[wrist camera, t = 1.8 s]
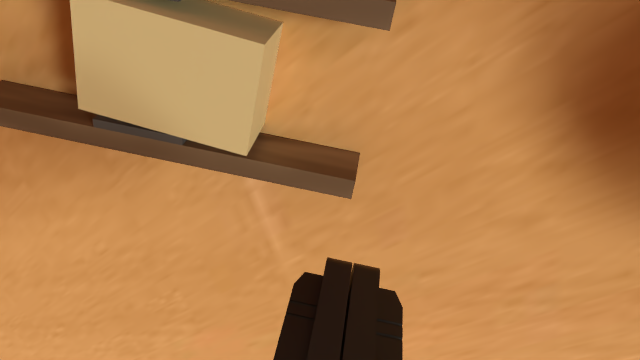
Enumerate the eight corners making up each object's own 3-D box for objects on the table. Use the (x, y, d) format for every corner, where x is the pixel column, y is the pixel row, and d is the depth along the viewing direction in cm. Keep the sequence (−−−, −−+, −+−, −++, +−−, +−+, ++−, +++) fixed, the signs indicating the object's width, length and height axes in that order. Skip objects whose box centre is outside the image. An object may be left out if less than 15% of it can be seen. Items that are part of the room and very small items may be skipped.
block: (115, -27, 24) (68, -11, 21) (284, 21, 24) (264, 44, 21) (117, 80, 27) (78, 108, 24) (265, 121, 27) (246, 156, 24)
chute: (-43, -95, 23) (-97, -91, 20) (397, -13, 22) (395, 2, 19) (7, 98, 29) (-31, 119, 26) (355, 170, 28) (351, 199, 25)
